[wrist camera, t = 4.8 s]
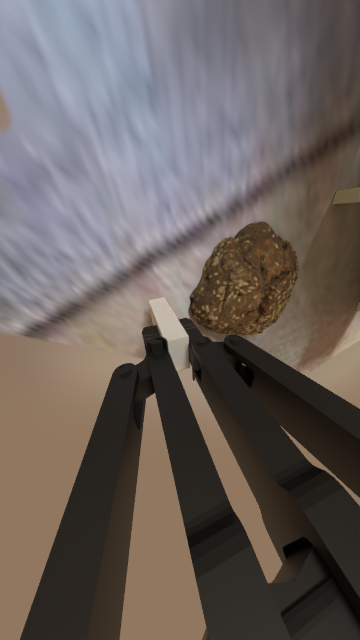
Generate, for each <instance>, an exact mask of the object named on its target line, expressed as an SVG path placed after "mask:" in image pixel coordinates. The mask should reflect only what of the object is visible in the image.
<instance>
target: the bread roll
mask: <svg viewBox="0 0 360 640" xmlns="http://www.w3.org/2000/svg"><path fill="white" fill-rule="evenodd" d="M295 253H296V252H295V251H294V249H293V247H292V246H291V244H290V243H289V242H288V241H286V240H283V239H282V238H280V236H279V235H276V234H275V233H274V231H273V230H272V228H271V226H270V225H268V224H267V223H266V222H259V223H256V222H255V223H252V224H249V225H247V226H246V227H244V228H243V229H242V230H240V231H239V232H238V233H237V235H236V236H235V238H232V237H230V238H225V239H224V240H223V241H221V242H220V243H219V244H218V245H217V247H215V248H214V251H213V253H212V255H211V256H210V258H209V259H208V260H207V261H206V264H205V267H204V268H203V271H204V272H203V274H202V278H201V280H200V282H199V284H198V286H197V288H196V289H195V290H194V291H193V292H192V294H191V296H190V298H191V302H192V303H191V305H190V310H191V312H192V314H193V317H194V318H195V319H196V320H197V322H198V324H200V325H201V324H202V325H203V326H204V327H205V328H206V330H211V331H213V332H214V331H216V332H218V333H221V334H223V333H224V334H229V335H231V334H232V335H247V334H251V335H254V334H255V333H262V332H263V329H265V328H267V327H269V326H271V325H272V324H273V323H275V322H276V320H277V319H278V318H279V317H280V315H282V313H283V310H284V308H285V306H286V303H287V302H288V301H289V299H290V296H291V293H292V288H293V287H294V284H295V281H296V279H297V271H298V259H297V256H296V254H295Z"/></svg>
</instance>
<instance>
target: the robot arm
mask: <svg viewBox="0 0 360 640" xmlns="http://www.w3.org/2000/svg"><path fill="white" fill-rule="evenodd" d="M148 301H149V306H150V312H151V318H152V323H153V326H149V327H145V328H143V331H142V334H143V339H144V344H145V349H146V357H145V359H144V360H143V361H142V362H140V363H139V364H137V365H134V364H131V363H127V364H123V365H121V366H119V367H117V368H116V369H115V371H114V372H113V374H112V377H111V380H110V383H109V386H108V388H107V391H106V394H105V397H104V400H103V403H102V406H101V409H100V412H99V415H98V417H97V420H96V423H95V426H94V429H93V431H92V435H91V437H90V440H89V443H88V446H87V449H86V452H85V454H84V457H83V460H82V463H81V466H80V469H79V472H78V475H77V477H76V480H75V483H74V486H73V489H72V492H71V495H70V497H69V500H68V503H67V506H66V509H65V512H64V515H63V517H62V520H61V523H60V526H59V529H58V532H57V535H56V538H55V540H54V543H53V546H52V549H51V552H50V555H49V558H48V560H47V563H46V566H45V569H44V572H43V575H42V578H41V581H40V583H39V586H38V589H37V592H36V595H35V598H34V601H33V603H32V606H31V610H30V612H29V615H28V618H27V621H26V623H25V627H24V629H23V632H22V635H21V638H20V640H119V638H120V629H121V620H122V610H123V601H124V593H125V583H126V574H127V566H128V556H129V548H130V538H131V530H132V520H133V511H134V502H135V493H136V484H137V475H138V466H139V456H140V448H141V439H142V430H143V421H144V412H145V403H146V398H148V397H149V396H151V395H152V394H154V393H155V394H156V398H157V403H158V407H159V412H160V417H161V421H162V426H163V431H164V435H165V440H166V444H167V449H168V453H169V458H170V462H171V467H172V472H173V476H174V480H175V485H176V490H177V494H178V499H179V503H180V508H181V513H182V517H183V522H184V526H185V531H186V535H187V540H188V545H189V549H190V554H191V559H192V563H193V567H194V572H195V577H196V581H197V586H198V591H199V595H200V600H201V604H202V609H203V613H204V618H205V622H206V627H207V628H206V630H205V633H204V636H203V639H202V640H360V506H359V505H358V504H357V503H356V502H355V500H354V499H353V498H352V497H351V496H350V494H349V493H348V492H347V491H346V490H345V489H344V487H343V486H342V485H341V484H340V483H339V482H338V481H337V480H336V479H335V478H334V477H333V476H331V475H330V474H329V473H327V472H326V471H324V470H322V469H319V468H317V467H315V466H314V465H312V464H311V463H310V462H309V461H308V460H307V459H306V458H305V456H304V455H303V454H302V453H301V451H300V450H299V449H298V448H297V447H296V445H295V444H294V443H293V441H292V440H291V439H290V438H289V436H288V435H287V434H286V433H285V431H284V430H283V429H282V428H281V426H282V427H283V428H284V429H285V430H286V431H287V432H288V433H289V434H290V435H291V436H292V437H294V438H295V439H296V440H297V441H298V442H299V443H300V444H301V445H302V446H304V448H306V449H307V450H308V451H309V452H310V453H311V454H312V455H313V456H314V457H316V458H317V459H318V460H319V461H320V462H321V463H322V464H323V465H324V466H325V467H326V468H328V469H329V470H330V471H331V472H332V473H333V474H334V475H335V476H336V477H337V478H339V479H340V480H341V481H342V482H343V483H344V484H345V485H346V486H347V487H348V488H350V489H351V490H352V491H353V492H354V493H355V494H356V495H357V496H358V497H360V409H359V408H357V407H355V406H354V405H352V404H351V403H349V402H347V401H346V400H344V399H342V398H341V397H339V396H338V395H336V394H334V393H333V392H331V391H329V390H328V389H326V388H324V387H323V386H321V385H320V384H317V383H316V382H315V381H313V380H311V379H310V378H308V377H306V376H305V375H303V374H301V373H300V372H298V371H297V370H295V369H293V368H292V367H290V366H288V365H287V364H285V363H283V362H282V361H280V360H278V359H277V358H275V357H274V356H272V355H270V354H269V353H267V352H265V351H264V350H262V349H260V348H259V347H257V346H255V345H254V344H252V343H251V342H249V341H247V340H246V339H244V338H242V337H240V336H237V335H229V336H227V337H225V339H224V342H213V341H212V340H211V339H209V338H208V337H205V336H203V335H202V334H201V333H200V331H199V330H198V329H197V327H196V326H195V325H194V324H193V322H192V321H191V320H190V319H188V318H183V319H179V320H178V319H177V317H176V315H175V314H174V312H173V311H172V309H171V307H170V306H169V304H168V303H167V301H166V300H165V298H164V297H163V298H158V299H153V300H148ZM190 363H191V365H192V371H193V372H192V373H193V380H195V378H196V380H197V382H198V384H199V386H200V388H201V390H202V392H203V394H204V396H205V398H206V400H207V402H208V404H209V406H210V408H211V410H212V412H213V414H214V416H215V418H216V420H217V422H218V424H219V426H220V428H221V430H222V432H223V434H224V436H225V438H226V440H227V442H228V444H229V446H230V448H231V450H232V452H233V454H234V456H235V458H236V460H237V462H238V464H239V466H240V468H241V470H242V472H243V474H244V476H245V478H246V480H247V482H248V484H249V487H250V489H251V491H252V493H253V495H254V496H255V498H256V501H257V503H258V505H259V507H260V510H261V514H262V518H263V522H264V524H265V527H266V529H267V532H268V534H269V536H270V538H271V540H272V543H273V545H274V547H275V549H276V551H277V553H278V555H279V557H280V559H281V561H282V563H283V565H282V567H281V569H280V571H279V572H278V574H277V576H276V577H275V579H274V581H273V582H271V583H267V581H266V578H265V576H264V574H263V571H262V569H261V567H260V564H259V561H258V559H257V557H256V554H255V552H254V550H253V547H252V545H251V542H250V540H249V538H248V536H247V533H246V531H245V529H244V527H243V526H242V523H241V522H240V520H239V518H238V517H237V515H236V514H235V512H234V511H233V509H232V507H231V505H230V502H229V500H228V497H227V495H226V493H225V490H224V488H223V485H222V483H221V480H220V478H219V475H218V473H217V470H216V468H215V465H214V463H213V461H212V458H211V455H210V453H209V450H208V448H207V445H206V443H205V440H204V438H203V435H202V433H201V430H200V428H199V425H198V423H197V420H196V418H195V415H194V413H193V410H192V408H191V406H190V403H189V400H188V398H187V395H186V393H185V390H184V388H183V385H182V383H181V380H180V378H179V376H178V373H177V371H180V370H183V369H186V368H190ZM242 363H243V364H244V365H246V366H244V365H243V364H242Z"/></svg>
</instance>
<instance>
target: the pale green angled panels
mask: <svg viewBox="0 0 360 640" xmlns="http://www.w3.org/2000/svg"><path fill="white" fill-rule="evenodd" d="M357 202H360V187H356V188H350V189H344V190H338V191H336V194H335V197H334V200H333V203H332V204H343V203H357ZM355 310H357V311H360V302H359V304H358V306H357V308H356V309H355Z"/></svg>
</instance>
